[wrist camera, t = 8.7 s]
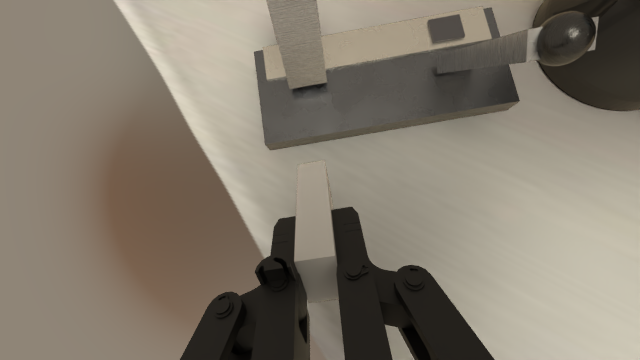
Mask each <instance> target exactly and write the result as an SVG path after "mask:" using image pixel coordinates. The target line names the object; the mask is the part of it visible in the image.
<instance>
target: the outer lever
mask: <svg viewBox="0 0 640 360" xmlns="http://www.w3.org/2000/svg"><path fill="white" fill-rule="evenodd" d="M267 4H268V8H269V12H270V16H271V20H272V23H273V27H274V31H275V35H276V39H277V43H278V46H279V50H280V54H281V58H282V62H283V66H284V69H285V73H286V77H287V81H288V85H289V89H293V88H299V87H304V86H310V85H315V84H321V83H327V78H326V70H325V62H324V55H323V47H322V39H321V31H320V24H319V16H318V8H317V1H316V0H267Z"/></svg>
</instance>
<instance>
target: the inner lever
mask: <svg viewBox="0 0 640 360" xmlns="http://www.w3.org/2000/svg"><path fill="white" fill-rule="evenodd" d="M598 20H599V17H593V18H591V17H590V16H589V15H587V14H585V13H582V12H578V11H568V12H563V13H560V14H557V15H555V16H553V17H551V18H549V19H548V20H546V21H545V22H544V23H543V24H542V25H541V26H540V27H538V28H533V29H528V30H524V31H521V32H517V33H514V34H510V35H507V36H503V37H500V38H496V39H493V40H489V41H486V42H482V43H479V44H475V45H472V46H468V47H465V48H461V49H458V50H454V51H451V52H447V53H444V54H441V55H437V56H436V57H437V74H439V73H447V72H454V71H462V70H469V69H477V68H484V67H492V66H499V65H507V64H515V63H522V62H529V61H534V60H537V61H539V62H540V63H542V64H544V65H548V66H561V65H565V64H568V63H571V62H573V61H575V60H577V59H578V58H580V57H581V56H582V55H584V54H585V53H586V52H587V51H591V50H595V45H596V37H597V28H598Z"/></svg>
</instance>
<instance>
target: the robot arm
mask: <svg viewBox="0 0 640 360" xmlns="http://www.w3.org/2000/svg"><path fill="white" fill-rule="evenodd" d="M568 11H578V12H582V13H585V14H587V15H589V16H590V17H591V18H593V17H599V20H598V28H597V37H596V45H595V50H591V51H587V52H586V53H585V54H584V55H582V56H581V57H580V58H578V59H577V60H575V61H573V62H571V63H568V64H565V65H561V66H548V65H544V64H542V63H540V62H539V63H540V65H541V66H542V68H543V70H544V71H545V72H546V74H547V75H548V76H549V78H550V79H551V80H552V81H553V82H554V83H555V84H556V85H557V86H558V87H560V88H561V89H562V90H563V91H565V92H566V93H568V94H569V95H571V96H572V97H574V98H576V99H578V100H580V101H582V102H584V103H587V104H589V105H592V106H596V107H599V108H604V109H609V110H620V111H628V110H638V109H640V0H545V1H544V2H543V3H542V5H541V7H540V8H539V10H538V12H537V15H536V17H535V21H534V25H533V28H538V27H540V26H541V25H542V24H543V23H544V22H545V21H546V20H548V19H549V18H551V17H553V16H555V15H557V14H560V13H563V12H568ZM255 273H256V275H257V277H258V280H259V281H260V284H261V285H260V286H258V287H257V288H255V289H254V290H252V291H250V292H247V293H245V294H243V295H241V296H239V295H238V294H237V293H234V292H225V293H223V294H221V295H218V296H217V297H216V298H215V299H214V300H213V301H212V302H211V303H210V304H209V306H208V307H207V309H206V311H205V313H204V315H203V317H202V319H201V321H200V323H199V325H198V327H197V328H196V330H195V332H194V334H193V336H192V338H191V340H190V342H189V344H188V345H187V347H186V349H185V351H184V353H183V355H182V357H181V359H180V360H310V331H309V314H308V310H307V300H308V303H314V302H321V301H328V300H336V299H339V305H340V315H341V324H342V334H343V344H344V353H345V360H392V355H391V351H390V347H389V342H388V338H387V334H386V329H385V325H390V326H394V327H398V329H399V331H400V333H401V335H402V337H403V339H404V340H405V342H406V344H407V346H408V348H409V350H410V352H411V354H412V356H413V358H414V359H415V360H494V358H493V357H492V356H491V354H490V353H489V352H488V350H487V349H486V348H485V346H484V345H483V344H482V342H481V341H480V340H479V338H478V337H477V336H476V334H475V333H474V331H473V330H472V329H471V327H470V326H469V325H468V323H467V322H466V321H465V319H464V318H463V317H462V315H461V314H460V313H459V311H458V310H457V309H456V307H455V306H454V305H453V303H452V302H451V301H450V299H449V298H448V297H447V295H446V294H445V293H444V291H443V290H442V289H441V287H440V286H439V285H438V283H437V282H436V281H435V279H434V278H433V277H432V275H431V274H430V273H429V272H428V271H427V270H426V269H424V268H422V267H419V266H415V265H408V266H404V267H402V268H400V269H399V270H398V271H397V272H394V271H388V270H383V269H380V268H378V267H376V266H375V265H373V264H372V263H371V261H370V260H369V258H368V255H367V251H366V247H365V242H364V238H363V233H362V229H361V225H360V220H359V216H358V213H357V212H356V211H355V210H354V209H353V207H347V208H341V209H334V210H333V203H332V196H331V191H330V186H329V180H328V175H327V170H326V165H325V160H322V161H316V162H310V163H304V164H298V173H297V199H296V216H294V217H288V218H282V219H279V220H278V222H277V223H276V225H275V226H274V231H273V239H272V247H271V255H270V256H269V257H267V258H265V259H264V260H262V261H261V262H260V264H259V265H258V266H257V268H256V270H255ZM384 324H385V325H384Z"/></svg>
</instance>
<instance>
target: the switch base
mask: <svg viewBox="0 0 640 360" xmlns="http://www.w3.org/2000/svg"><path fill="white" fill-rule="evenodd" d="M496 38H500V34H499V31H498V28H497V24H496V21H495V18H494V14H493V11H492V8H486V9H483V6H481V7H475V8H470V9H465V10H459V11H454V12H449V13H443V14H438V15H433V16H427V17H422V18H417V19H411V20H406V21H401V22H395V23H390V24H385V25H379V26H374V27H369V28H363V29H358V30H352V31H347V32H342V33H336V34H331V35H326V36H321V39H322V47H323V55H324V62H325V70H326V78H327V83H321V84H315V85H310V86H304V87H299V88H293V89H289V85H288V81H287V77H286V73H285V69H284V66H283V62H282V58H281V54H280V50H279V46H278V45H272V46H267V47H263V50H261V51H256V52H254V56H255V64H256V72H257V80H258V89H259V97H260V105H261V113H262V122H263V130H264V138H265V145H266V146H267V147H268V148H269V149H270V150H274V149H280V148H286V147H292V146H298V145H304V144H310V143H316V142H321V141H327V140H333V139H339V138H345V137H351V136H357V135H363V134H369V133H375V132H380V131H386V130H392V129H398V128H404V127H410V126H416V125H422V124H428V123H433V122H439V121H445V120H451V119H457V118H463V117H469V116H475V115H481V114H487V113H492V112H498V111H504V110H508V109H509V108H511V107H512V106H513V105H515V104H516V103H518V102H519V101H520V100H519V97H518V94H517V91H516V87H515V84H514V81H513V77H512V74H511V71H510V67H509V64H507V65H499V66H492V67H484V68H477V69H469V70H462V71H454V72H447V73H439V74H437V57H436V56H437V55H441V54H444V53H447V52H451V51H454V50H458V49H461V48H465V47H468V46H472V45H475V44H479V43H482V42H486V41H489V40H493V39H496Z"/></svg>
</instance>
